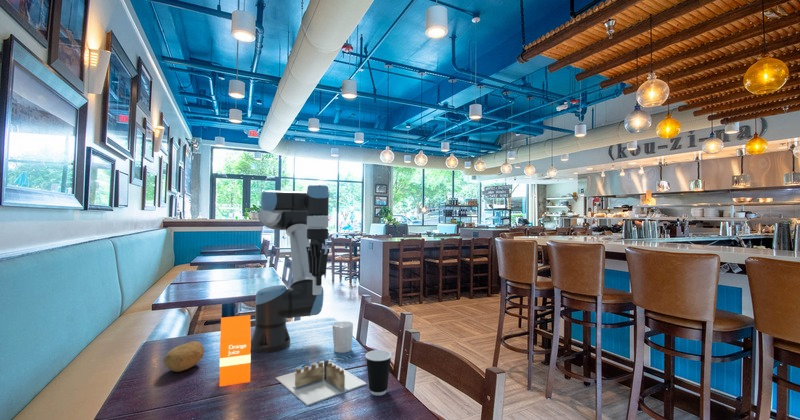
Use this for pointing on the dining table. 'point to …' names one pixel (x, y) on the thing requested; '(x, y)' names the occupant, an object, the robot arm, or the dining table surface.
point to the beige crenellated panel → (309, 374)
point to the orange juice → (235, 350)
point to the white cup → (342, 336)
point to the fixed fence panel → (334, 375)
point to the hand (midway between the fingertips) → (317, 294)
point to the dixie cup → (378, 370)
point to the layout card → (319, 387)
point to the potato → (184, 356)
